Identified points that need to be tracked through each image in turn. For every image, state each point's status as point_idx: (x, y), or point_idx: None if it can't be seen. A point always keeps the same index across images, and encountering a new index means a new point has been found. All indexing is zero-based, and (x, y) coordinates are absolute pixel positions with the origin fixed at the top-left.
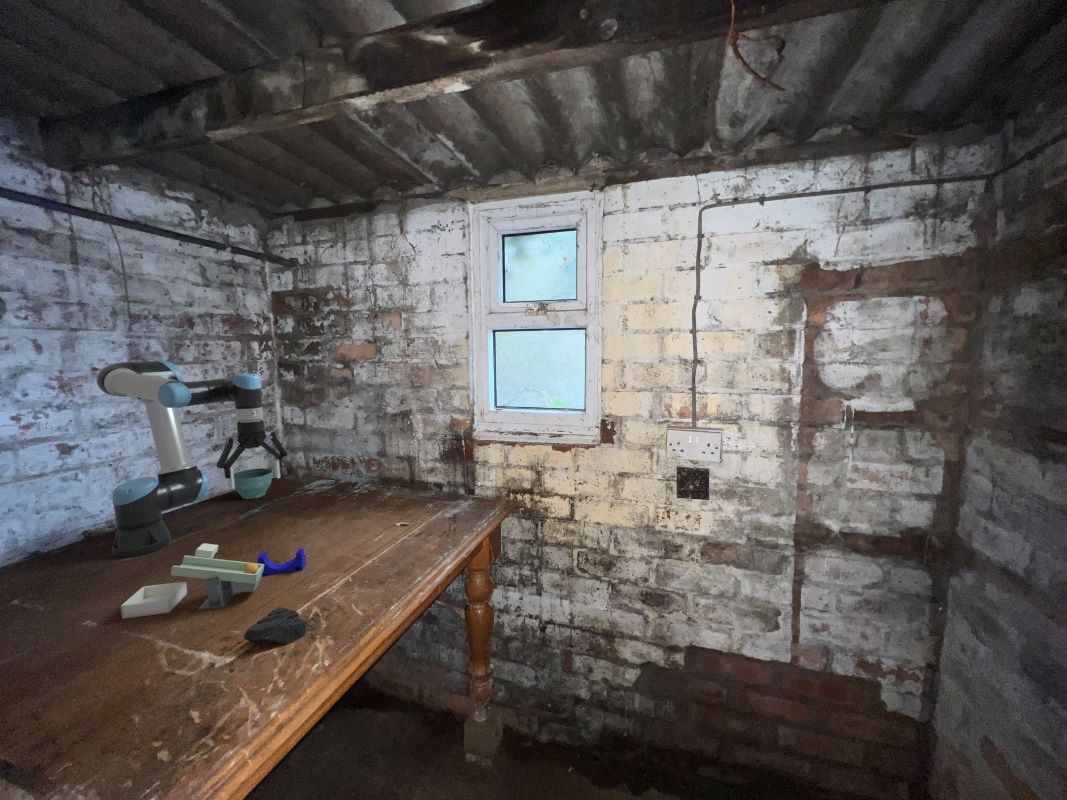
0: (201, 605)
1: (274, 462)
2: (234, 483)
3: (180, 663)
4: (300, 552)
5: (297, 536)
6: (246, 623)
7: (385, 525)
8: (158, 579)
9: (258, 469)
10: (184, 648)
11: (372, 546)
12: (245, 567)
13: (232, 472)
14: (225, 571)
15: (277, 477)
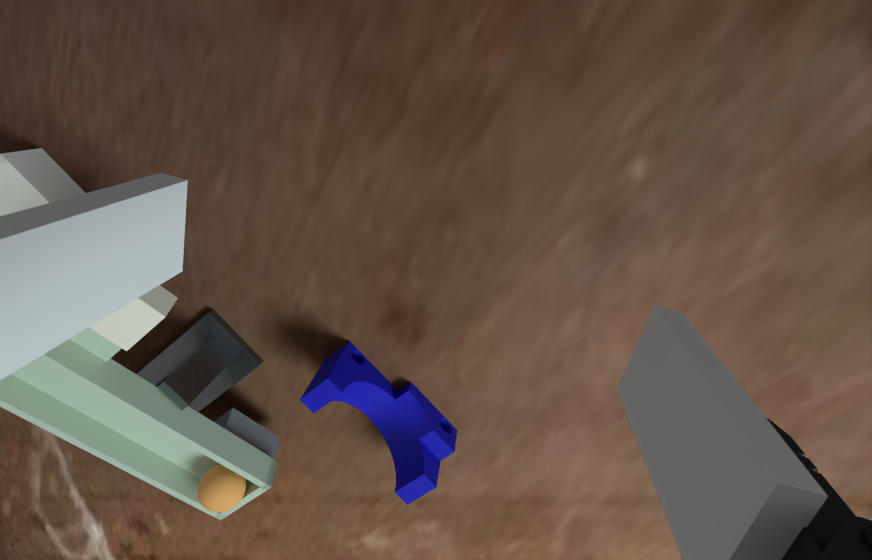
0: (139, 372)
1: (724, 465)
2: (148, 291)
3: (57, 514)
4: (406, 500)
5: (632, 199)
6: (188, 521)
7: (864, 478)
8: (99, 27)
9: None
10: (72, 481)
11: (652, 542)
12: (198, 492)
13: (13, 360)
14: (137, 474)
15: (625, 381)
